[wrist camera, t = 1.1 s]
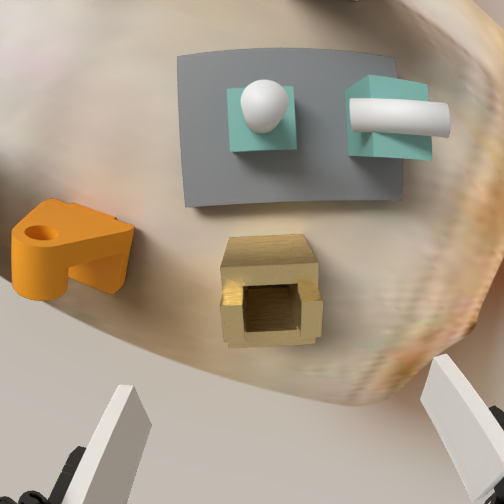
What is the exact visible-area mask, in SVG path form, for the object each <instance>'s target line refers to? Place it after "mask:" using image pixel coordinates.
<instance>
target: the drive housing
mask: <svg viewBox="0 0 504 504" xmlns="http://www.w3.org/2000/svg"><path fill="white" fill-rule="evenodd" d="M177 81H178V109H179V130H180V147H181V161H182V174H183V187H184V198H185V207H198V206H213V205H229V204H247V203H268V202H295V201H335V200H402V186H403V158H405V159H418V160H429V161H432V139H431V136H435V137H444V138H448V137H449V134H450V113H449V108H448V105H447V103H440V102H430V101H429V94H428V85H427V84H424V83H419V82H414V81H408V80H403V79H398V77H397V69H396V61H395V58H393V57H387V56H381V55H374V54H367V53H359V52H350V51H340V50H328V49H310V48H254V49H236V50H224V51H214V52H205V53H197V54H190V55H183V56H177Z"/></svg>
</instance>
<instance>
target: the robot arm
mask: <svg viewBox="0 0 504 504" xmlns="http://www.w3.org/2000/svg"><path fill="white" fill-rule="evenodd" d="M420 401H421V402H422V404H423V406H424V407H425V410H426V411H427V413H428V415H429V417H430V419H431V421H432V423H433V424H434V426H435V428H436V430H437V432H438V434H439V436H440V438H441V440H442V442H443V443H444V445H445V447H446V449H447V451H448V453H449V455H450V457H451V459H452V461H453V463H454V466H455V468H456V470H457V472H458V474H459V476H460V478H461V480H462V482H463V485H464V487H465V489H466V491H467V493H468V496H469V498H470V500H471V502H472V503H473V502H474V501H476V500H478V499H480V498H482V497H484V496H485V495H487V494H488V493H489V492H490V491H491V490H492V489H493V488H494V490H495V492H494V493H493V494H492V496H490V497H489V498H488V499H487V500H486V502H485V504H488V503H489V502H490V501H491V503H490V504H504V412H503V411H502V410H500V409H499V408H497V407H496V406H492V407H490V408H487V406H486V405H485V403H484V402H483V401H482V399H481V398H480V396H479V395H478V394H477V392H476V391H475V390H474V388H473V387H472V386H471V384H470V383H469V382H468V380H467V379H466V378H465V376H464V375H463V374H462V372H461V371H460V370H459V369H458V367H457V366H456V365H455V363H454V362H453V361H452V360H451V358H450V357H449V356H448V355H447V354H444V355H440V356H437V357H433V361H432V365H431V368H430V371H429V374H428V378H427V381H426V384H425V387H424V390H423V393H422V396H421V398H420ZM151 426H152V424H151V422H150V420H149V418H148V416H147V414H146V412H145V410H144V408H143V405H142V403H141V401H140V399H139V396H138V394H137V392H136V389H135V387H134V385H133V386H132V385H122V384H119V385H118V387H117V389H116V391H115V393H114V395H113V397H112V398H111V400H110V402H109V404H108V406H107V408H106V410H105V412H104V414H103V416H102V418H101V420H100V422H99V424H98V426H97V428H96V430H95V432H94V434H93V436H92V438H91V440H90V442H89V444H88V447H87V448H84V447H80V446H78V447H77V448H76V449H75V450H74V451H73V452H72V453H70V455H69V458H68V459H67V461H66V465H64V467H63V469H62V473H61V474H60V476H59V478H58V480H57V482H56V484H55V486H54V488H53V490H52V492H51V495H50V497H49V498H48V500H47V499H46V498H45V497H44V496H43V495H41V494H40V493H39V492H36V491H27V492H25V493H23V494H22V496H21V497H20V499H19V501H18V504H127V501H128V498H129V494H130V491H131V488H132V485H133V481H134V478H135V475H136V472H137V469H138V466H139V462H140V460H141V456H142V453H143V450H144V447H145V444H146V441H147V438H148V435H149V432H150V429H151ZM0 504H17V503H16V502H15V501H13V500H12V499H11V498H9V497H6V496H4V497H0Z"/></svg>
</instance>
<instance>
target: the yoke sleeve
mask: <svg viewBox="0 0 504 504" xmlns="http://www.w3.org/2000/svg"><path fill="white" fill-rule="evenodd" d="M220 271H221V281H222V291H223V294H222V298H221V303H220V312H221V321H222V329H223V338H224V342H228V347H229V348H248V347H272V346H290V345H304V344H315V338H317V337H321V332H322V317H323V299H322V296H321V294H320V292H319V290H318V272H319V262H318V261H317V259H316V257H315V255H314V254H313V252H312V250H311V248H310V247H309V245H308V243H307V241H306V240H305V238H304V236H303V234H293V235H271V236H249V237H229V240H228V243H227V247H226V250H225V253H224V257H223V260H222V263H221V267H220ZM276 284H288V287H283V288H262V289H248V286H255V285H276Z"/></svg>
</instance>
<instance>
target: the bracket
mask: <svg viewBox="0 0 504 504" xmlns="http://www.w3.org/2000/svg"><path fill="white" fill-rule="evenodd" d="M115 219H116V217H114V216H111V215H108V214H105V213H102V212H99V211H96V210H93V209H90V208H87V207H84V206H81V205H78V204H75V203H72V204H68V203H65V202H62V201H59V200H56V199H53V198H52V199H49V200H45V201H43V202H41V203H40V204H39V205H38V206H37V207H36V208H34V209H33V210H32V211H31V212H30V213H29V214H28V215H27V216H25V217H24V218H23V219H22V220H21V221H20V222H19V223H18V224H17V225H16V226H15V227H14V228H13V229H12V245H11V264H12V286H13V288H14V290H15V291H16V292H17V293H18V294H19V295H21V296H22V297H24V298H28V299H30V300H36V301H47V300H52V299H55V298H58V297H60V296H61V295H63V294H64V293H65V292H66V290H67V287H68V277H69V278H72V279H74V280H76V281H79V282H81V283H83V284H86V285H88V286H91V287H93V288H96V289H98V290H100V291H103V292H105V293H108V294H114V293H116V292H117V291H118V290H119V289H120V287H121V286H122V285H123V284H124V282H125V276H126V270H127V265H128V259H129V254H130V249H131V244H132V239H133V234H134V229H135V226H133V225H130V224H127V223H124V222H121V221H118V220H115Z"/></svg>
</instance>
